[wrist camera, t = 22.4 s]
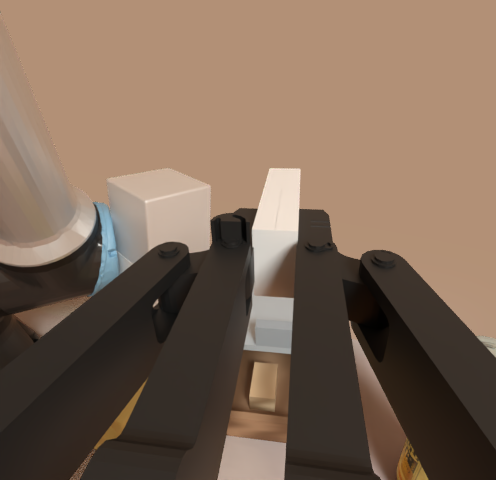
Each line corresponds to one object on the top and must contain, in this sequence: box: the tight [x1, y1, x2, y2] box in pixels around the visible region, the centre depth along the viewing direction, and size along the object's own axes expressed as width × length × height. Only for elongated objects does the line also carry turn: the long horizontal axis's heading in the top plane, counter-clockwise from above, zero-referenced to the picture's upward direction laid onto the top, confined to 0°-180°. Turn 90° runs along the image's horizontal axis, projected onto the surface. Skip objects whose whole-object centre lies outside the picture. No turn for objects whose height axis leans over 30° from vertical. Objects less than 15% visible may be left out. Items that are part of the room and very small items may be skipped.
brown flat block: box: [226, 350, 291, 443], centre depth 42 cm, size 14×13×4 cm
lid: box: [243, 287, 294, 354], centre depth 48 cm, size 15×13×4 cm
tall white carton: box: [106, 168, 211, 307], centre depth 45 cm, size 9×9×25 cm
